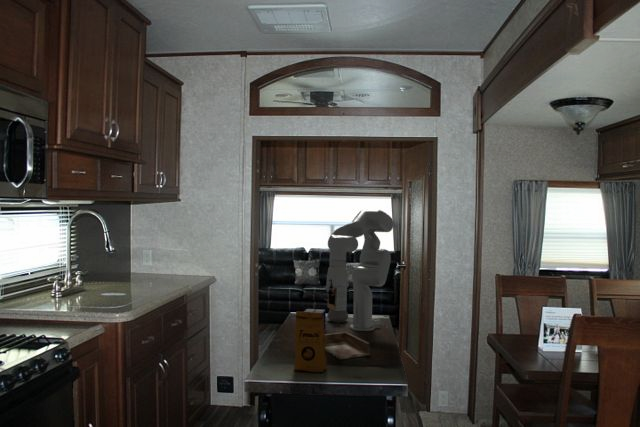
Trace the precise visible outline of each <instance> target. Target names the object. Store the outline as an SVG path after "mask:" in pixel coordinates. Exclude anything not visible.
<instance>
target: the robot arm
mask: <svg viewBox="0 0 640 427" xmlns="http://www.w3.org/2000/svg"><path fill="white" fill-rule="evenodd" d="M393 228H394V221H393V218H392V217H391V216H390V214H388V213H386V212H384V211H383V210H381V209H363V210H360V211H359V212H358V213H357V214H356V216H355V217H354V218H353V219H352V221H351V222H349V223H347V224H344V225H342V226H339V227H338V228H336V229H335V230H334V231H333V232H332V233H331V234H330V236H329V237H328V240H327V246H328V249H329V267H328V269H327V275H326V285H325V287H324V289H325V290H326V293H327V296H328V295H329V304H332V305H334V304H335V296H334V293H335V289H336V287H341V286H344V287H347V289H348V288H349V286H350V283H349V282H348V273H347V270H348V269H347V253H353V252H355V251H357V249H358V248H359V241H358V239H357V238H360V237H362V236H363V238H364V241H363V246H362V248H361V252H360V255H359V262H360V264H361V265H358V266H355V267H354V268H353V269H352V271H351V281H352V288H353V300H352V301H353V304H352V305H353V307H352V310H353V311H352V313H353V314H352V315H353V316H352V319H353V320H352V322H353V323H351V324H350V325H349V329H351V330H353V331H356V332H357V331H358V332H371V331H374V330H375V329H376V326H375V325H379V324H381V320H380V319H374V318H373V292H372V290H371V288H370V286H371V287H383V286H384V285H385V284H386V282H387V277H388V274H389V270H390V266H391V262H392V258H391V257H392V256H391V252H390V251H389V250H388V249H385V248H381V247H380V246H381V240H380V238H379V236H378V235H377V234H376V233H390V232H391V231H392V230H393ZM375 232H376V233H375ZM331 290H333V291H331Z"/></svg>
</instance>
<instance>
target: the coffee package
mask: <svg viewBox="0 0 640 427" xmlns="http://www.w3.org/2000/svg"><path fill="white" fill-rule="evenodd" d="M325 330H326V329H325ZM325 330H324V317H323V313H319V312H304V311H296V312H295V328H294V354H295V355H294V356H295V358H294V364H293V367H294V368H293V369H294V371H301V372H310V373H320V372H323V373H324V371H325V370H326V369H327V353H328V352H327V351H326V350H325V334H326V331H325ZM324 369H325V370H324Z"/></svg>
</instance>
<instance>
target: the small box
mask: <svg viewBox="0 0 640 427" xmlns="http://www.w3.org/2000/svg"><path fill="white" fill-rule="evenodd" d="M331 291H333V290H331ZM334 296H335V304H334V305H332V304H329V295H328V294H327V300H328V301H327V304H326V305H327V309H329V310H330V309H333V310H335V311H341V310H346V311H347V302H348V288H347V287H344V286H341V287H336V289H335V293H334Z"/></svg>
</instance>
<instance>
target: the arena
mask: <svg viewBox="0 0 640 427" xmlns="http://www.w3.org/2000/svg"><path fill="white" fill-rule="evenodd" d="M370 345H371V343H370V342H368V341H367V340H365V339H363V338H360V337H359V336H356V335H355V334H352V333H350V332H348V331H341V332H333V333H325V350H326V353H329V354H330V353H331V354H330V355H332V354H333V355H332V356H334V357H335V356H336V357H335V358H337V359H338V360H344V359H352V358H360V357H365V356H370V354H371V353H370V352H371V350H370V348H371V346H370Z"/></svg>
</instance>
